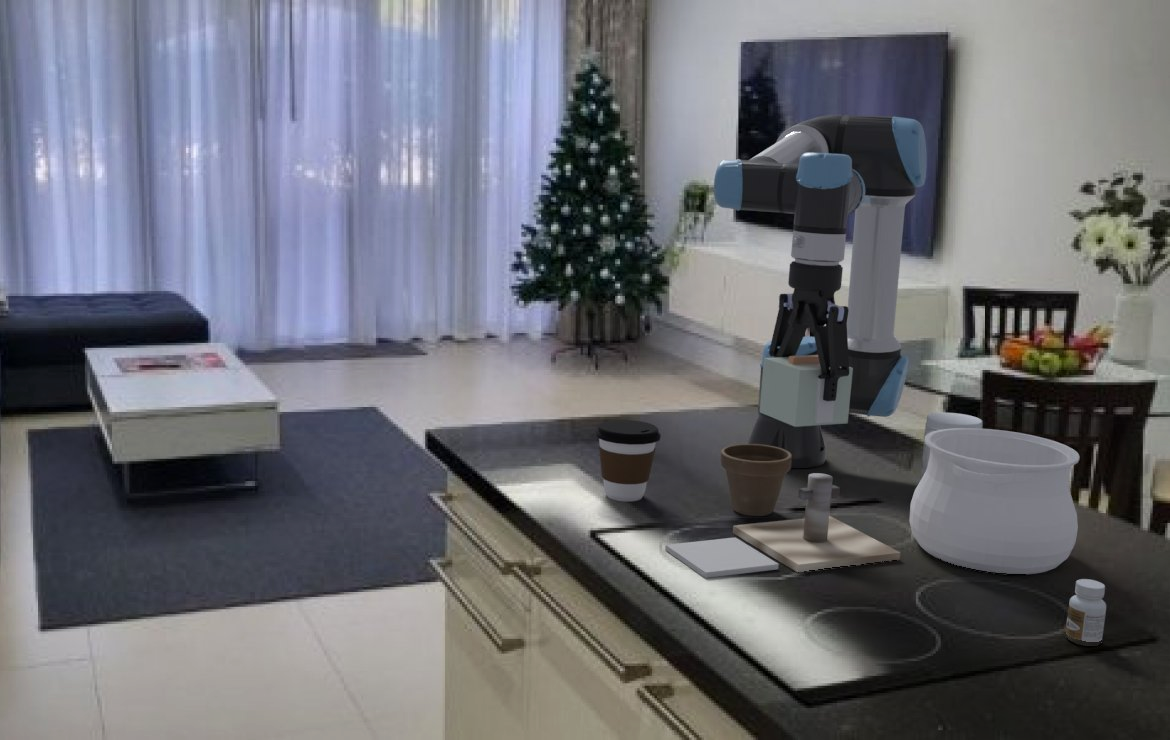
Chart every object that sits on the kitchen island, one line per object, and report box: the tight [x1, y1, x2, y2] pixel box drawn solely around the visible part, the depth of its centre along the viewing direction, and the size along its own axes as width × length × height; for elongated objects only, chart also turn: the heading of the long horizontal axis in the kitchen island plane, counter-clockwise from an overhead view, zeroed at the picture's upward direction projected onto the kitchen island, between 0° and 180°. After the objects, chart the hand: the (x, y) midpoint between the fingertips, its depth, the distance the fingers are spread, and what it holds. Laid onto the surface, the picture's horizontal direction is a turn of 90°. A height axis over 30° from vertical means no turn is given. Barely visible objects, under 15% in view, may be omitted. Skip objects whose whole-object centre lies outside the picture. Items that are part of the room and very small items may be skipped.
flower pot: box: [720, 443, 792, 517], centre depth 210 cm, size 12×11×10 cm
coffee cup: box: [594, 419, 661, 503], centre depth 214 cm, size 11×11×12 cm
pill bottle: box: [1065, 578, 1107, 642], centre depth 163 cm, size 4×4×8 cm
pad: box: [664, 537, 779, 579], centre depth 187 cm, size 12×12×1 cm
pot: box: [909, 428, 1081, 575], centre depth 194 cm, size 26×24×17 cm
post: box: [732, 472, 901, 573], centre depth 193 cm, size 18×18×11 cm
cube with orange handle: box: [760, 355, 853, 427], centre depth 187 cm, size 9×9×9 cm
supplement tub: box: [919, 412, 983, 482], centre depth 221 cm, size 10×10×15 cm
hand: (803, 414), depth 188 cm, fingers closed on cube with orange handle, 9 cm apart
